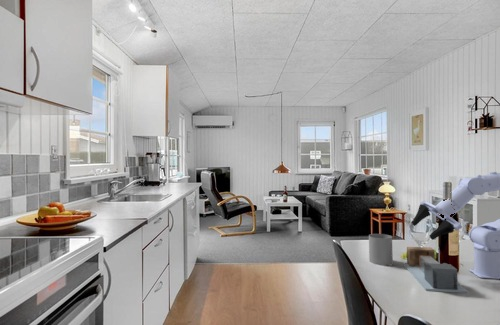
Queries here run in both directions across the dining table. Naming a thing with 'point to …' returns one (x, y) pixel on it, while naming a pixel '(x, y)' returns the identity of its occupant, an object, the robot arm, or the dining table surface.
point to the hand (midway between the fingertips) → (421, 230)
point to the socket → (416, 251)
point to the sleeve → (441, 276)
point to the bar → (426, 259)
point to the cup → (380, 249)
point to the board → (421, 279)
